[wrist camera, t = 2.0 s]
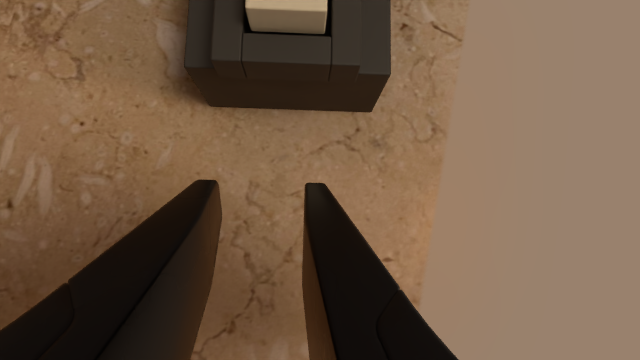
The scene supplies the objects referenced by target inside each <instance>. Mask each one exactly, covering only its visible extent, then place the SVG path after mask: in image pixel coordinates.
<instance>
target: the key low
mask: <svg viewBox="0 0 640 360" xmlns="http://www.w3.org/2000/svg"><path fill="white" fill-rule="evenodd" d="M245 8H246V13H247V17H248V21H249V25H250V29H251V31H260V32H284V33H307V34H324V33H325V27H326V17H327V0H245Z"/></svg>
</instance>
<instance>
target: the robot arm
mask: <svg viewBox="0 0 640 360" xmlns="http://www.w3.org/2000/svg"><path fill="white" fill-rule="evenodd" d="M221 222H222V208H221V199H220V191H219V185H218V182H217V181H216V180H196V181H195V182H193V183H192V184H191V185H190V186H188V187H187V188H186V189H185V190H183V191H182V192H181V193H179V194H178V195H177V196H176V197H174V198H173V199H172V200H170V201H169V202H168V203H167V204H165V205H164V206H163V207H161V208H160V209H159V210H158V211H156V212H155V213H154V214H152V215H151V216H150V217H149V218H147V219H146V220H145V221H143V222H142V223H141V224H140V225H138V226H137V227H136V228H134V229H133V230H132V231H131V232H129V233H128V234H127V235H125V236H124V237H123V238H122V239H120V240H119V241H118V242H117V243H115V244H114V245H113V246H111V247H110V248H109V249H108V250H106V251H105V252H104V253H102V254H101V255H100V256H99V257H97V258H96V259H95V260H93V261H92V262H91V263H90V264H88V265H87V266H86V267H84V268H83V269H82V270H81V271H79V272H78V273H77V274H75V275H74V276H73V277H72V278H70V279H69V280H68V283H64V284H62V285H61V286H60V287H59V288H57V289H56V290H55V291H53V292H52V293H51V294H50V295H48V296H47V297H46V298H44V299H43V300H42V301H40V302H39V303H38V304H36V305H35V306H34V307H32V308H31V309H30V310H28V311H27V312H26V313H24V314H23V315H22V316H20V317H19V318H18V319H16V320H15V321H13V322H12V323H10V324H9V325H8V326H6V327H5V328H3V329H2V330H0V360H190V358H191V355H192V351H193V348H194V344H195V341H196V337H197V334H198V331H199V327H200V324H201V320H202V317H203V313H204V310H205V306H206V303H207V299H208V296H209V292H210V288H211V284H212V279H213V273H214V267H215V261H216V254H217V248H218V241H219V235H220V228H221ZM302 289H303V301H304V310H305V320H306V329H307V339H308V349H309V358H310V360H458V359H457V357H456V356H455V355H454V354H453V353H452V352H451V351H450V350H449V349H448V347H447V346H446V345H445V344H444V343H443V342H442V341H441V339H440V338H439V337H438V336H437V335H436V334H435V333H434V331H433V330H432V329H431V328H430V327H429V326H428V324H427V323H426V322H425V320H424V319H423V318H422V316H421V315H420V314H419V313H418V311H417V310H416V309H415V307H414V306H413V305H412V303H411V302H410V301H409V299H408V298H407V296H406V295H405V294H404V292H403V291H402V290H399V289H400V287H399V286H398V284H397V283H396V281H395V280H394V279H393V277H392V276H391V274H390V273H389V272H388V270H387V269H386V268H385V266H384V265H383V263H382V262H381V261H380V259H379V258H378V257H377V255H376V254H375V252H374V251H373V250H372V248H371V247H370V245H369V244H368V243H367V241H366V240H365V239H364V237H363V236H362V234H361V233H360V232H359V230H358V229H357V227H356V226H355V225H354V223H353V222H352V221H351V219H350V218H349V216H348V215H347V214H346V212H345V211H344V210H343V208H342V207H341V205H340V204H339V203H338V201H337V200H336V198H335V197H334V196H333V194H332V193H331V192H330V190H329V189H328V187H327V186H326V185H325V184H324V183H306V185H305V198H304V231H303V266H302Z"/></svg>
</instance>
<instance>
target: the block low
mask: <svg viewBox="0 0 640 360" xmlns="http://www.w3.org/2000/svg"><path fill="white" fill-rule="evenodd" d="M184 67H185V69H186V70H187V72H188V73H189V75H190V76H191V78H192V79H193V81H194V82H195V84H196V85H197V87H198V88H199V90H200V91H201V93H202V95H203V96H204V98H205V99H206V101H207V102H208V104H209V105H210V106H216V107H244V108H272V109H300V110H328V111H356V112H372V110H373V108H374V106H375V104H376V102H377V100H378V98H379V96H380V94H381V92H382V90H383V88H384V86H385V84H386V82H387V80H388V78H389V76H390V74H391V24H390V0H327V17H326V27H325V33H324V34H307V33H284V32H260V31H251V29H250V25H249V21H248V17H247V13H246V8H245V0H189V9H188V22H187V35H186V47H185V60H184Z"/></svg>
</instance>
